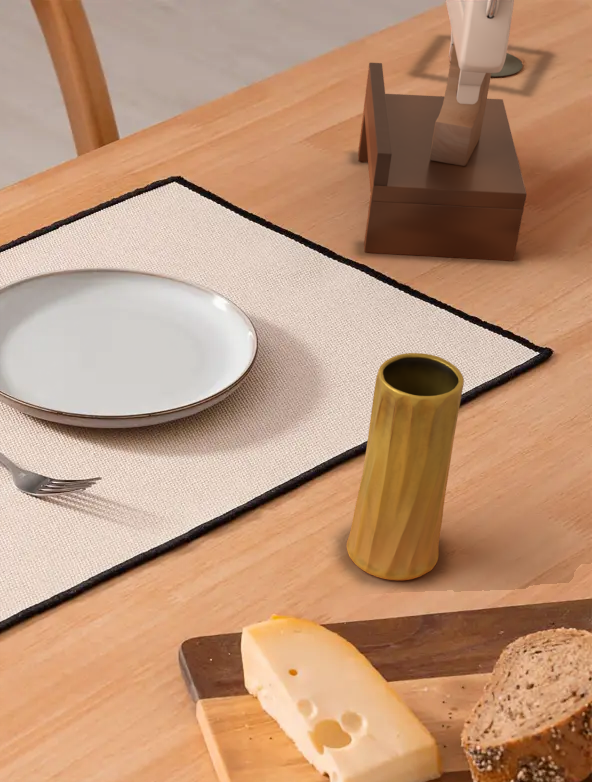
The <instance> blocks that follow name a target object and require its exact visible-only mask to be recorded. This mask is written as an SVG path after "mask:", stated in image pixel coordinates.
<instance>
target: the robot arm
mask: <svg viewBox="0 0 592 782" xmlns="http://www.w3.org/2000/svg"><path fill="white" fill-rule="evenodd" d="M514 5H515V0H445V6H446V10H447V14H448V19H449V25H450V44H449V51H448V61H449V62H450V61H451V55H452V49H453V42H454V45H455V50H456V55H457V59H458V65H459V68H460V75H459V77H458V82H457V89H456V97H457V101H458V102H459V103H460V104H475V103H476V102H477V101H478V97H479V91H480V86H481V84H482V81H483V79H484V76H485V74H486V73H498V72H500V71H501V69H502V68H503V65H504V63H505V59H506V54H507V53H508V47H509V39H510V33H511V27H512V20H513V12H514ZM487 16H488V17H489V18H492V17H493V16H494V18H493V19H489V18H487Z"/></svg>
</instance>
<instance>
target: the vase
mask: <svg viewBox="0 0 592 782" xmlns="http://www.w3.org/2000/svg"><path fill="white" fill-rule="evenodd" d="M375 377H376V378H375V382H374V383H375V384H374V391H373V398H372V405H371V413H370V421H369V426H368V435H367V443H366V450H365V456H364V462H363V469H362V475H361V480H360V482H359V483H360V484H359V488H358V492H357V497H356V501H355V506H354V510H353V515H352V522H351V527H350V531H349V534H348V538H347V541H346V551H347V554H348V556H349V558H350V560H351V561H352V562H353V564H355V566H357V567H358V568H359V569H361V570H362V571H363V572H365V573H367V574H368V575H371V576H374V577H376V578H380V579H382V580H388V581H389V580H390V581H410V580H414V579H417V578H420V577H422V576H425V575H426V574H428V573H429V572H431V571H432V570H433V569H434V568H435V566H436V564H437V563H438V560H439V558H440V557H439V556H440V555H439V554H440V553H439V542H440V536H441V531H442V523H443V516H444V507H445V498H446V492H447V486H448V480H449V473H450V467H451V461H452V455H453V454H452V453H453V449H454V448H453V447H454V440H455V434H456V429H457V424H458V416H459V412H460V411H459V410H460V406H461V401H462V394H463V389H464V384H465V378H464V376H463V374H462V372H461V370H459V368H458V367H457V366H455V365H454V364H453V363H451V362H450V361H448V360H446V359H445V358H444V357H440V356H436V355H434V354H429V353H422V352H407V353H406V352H405V353H401V354H396V355H395V356H392V357H391V358H388V359H386V360H385V361H383V363H382V364H381V365H380V366H379V368H378V370H377V373H376V376H375Z"/></svg>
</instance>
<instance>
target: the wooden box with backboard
mask: <svg viewBox="0 0 592 782" xmlns="http://www.w3.org/2000/svg"><path fill="white" fill-rule="evenodd" d="M383 69H384V68H383V63H382V62H369V64H368V70H367V79H366V87H365V95H364V96H365V97H364V104H363V111H362V118H361V126H360V127H361V128H360V135H359V144H358V151H357V159H358V162H359V163H360V162H362V163H367V165H368V176H369V190H370V195H369V201H368V202H369V204H368V210H367V217H366V218H367V219H366V226H365V234H364V241H363V249H364V250H363V251H364V253H369V254H388V255H401V256H402V255H403V256H405V255H406V256H421V257H437V258H438V257H439V258H457V259H474V260H475V259H476V260H490V261H491V260H492V261H493V260H494V261H508V262H509V261H510V262H513V261H515V260H514V259H515V255H516V251H517V244H518V239H519V235H520V229H521V225H522V220H523V214H524V209H525V204H526V200H527V190H526V186H525V183H524V177H523V174H522V170H521V166H520V162H519V158H518V154H517V151H516V147H515V143H514V139H513V133H512V130H511V127H510V123H509V122H510V121H509V118H508V114H507V110H506V107H505V103H504V99H503V98H487V101H486V107H485V112H484V118H483V124H482V130H481V135H480V138H479V140H478V142H477V144H476V146H475V148H474V150H473V152H472V154H471V156H470V158H469V160H468V162H467V164H466V166H461V165H455V164H449V163H443V162H438V161H432V160H430V153H431V146H432V140H433V133H434V127H435V122H436V120H437V118H438V117H439V114H440V111H441V108H442V105H443V101H444V96H445V95H443V96H442V95H440V96H439V95H422V94H403V93H402V94H401V93H386V88H385V79H384V78H385V77H384V70H383Z"/></svg>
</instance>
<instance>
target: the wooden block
mask: <svg viewBox="0 0 592 782" xmlns="http://www.w3.org/2000/svg"><path fill="white" fill-rule="evenodd" d="M487 18H489V17H488V16H487ZM493 18H494V16H493V17H492V18H489V19H493ZM459 75H460V68H459V65H458V59H457V55H456V50H455V45H454V42H453V49H452V55H451V61H449V69H448V74H447V82H446V88H445V91H444V95H443V96H444V101H443V105H442V108H441V111H440V114H439V117H438V118H437V120H436V122H435V127H434V133H433V140H432V146H431V153H430V160H432V161H438V162H443V163H449V164H455V165H461V166H466V164H467V162H468V160H469V158H470V156H471V154H472V152H473V150H474V148H475V146H476V144H477V142H478V140H479V138H480V135H481V130H482V124H483V118H484V112H485V107H486V101H487V99H488V95H489V90H490V83H491V78H492V77H491V73H486V74H485V76H484V79H483V81H482V84H481V86H480V91H479V97H478V101H477V102H476V103H475V104H460V103H459V102H458V101H457V97H456V89H457V82H458V77H459Z"/></svg>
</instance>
